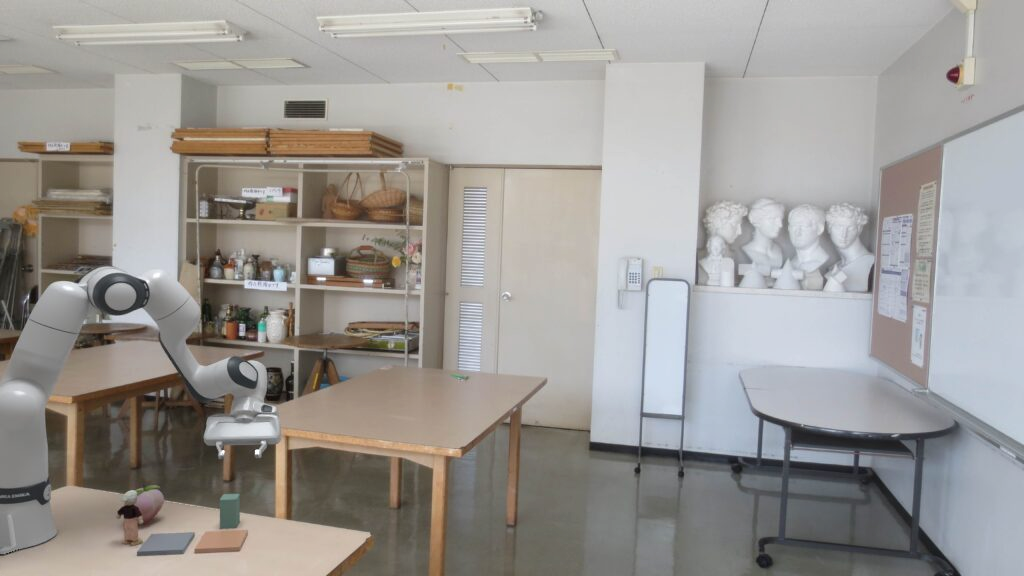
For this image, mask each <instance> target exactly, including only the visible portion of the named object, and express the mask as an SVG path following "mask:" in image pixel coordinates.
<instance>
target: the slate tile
mask: <svg viewBox="0 0 1024 576" xmlns="http://www.w3.org/2000/svg"><path fill="white" fill-rule="evenodd" d="M195 533H196V532H195V531H190V532H187V531H184V532H167V533H166V532H164V533H160V532H159V533H151V534H150V535H149V536H148V537H147V538H146V539H145V541H143V543H142V545H141V546H140V547H139V548H138V550H137V551H136V556H137V557H139V556H140V557H141V556H142V557H145V556H159V555H160V556H162V555H164V556H165V555H182V554H183V555H184V553H185V552H186V550H187V549H188V547H189V545H190V544H191V543H192V541H193V539H194V537H195V536H196V534H195Z"/></svg>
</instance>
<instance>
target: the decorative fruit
mask: <svg viewBox="0 0 1024 576" xmlns="http://www.w3.org/2000/svg"><path fill="white" fill-rule="evenodd" d="M142 486H143V487H141V488H137V489H135V490H134V491H136V492H137V501H136V503H135V504H134V505H135V506H137V507H138V508H139V510H140V512H141V514H142V518H143V519H142V520H143V524H144V523H147V522H149V521H151V520H152V519H153V518H155V517H156V516H157V515H158V514H159V512H160V511H161V509H162V508H163V505H164V503H165V496H164V495H163V493H162V492H161V491H160V490H159V489H161V487H160V486H159V485H156V484H151V485H147V486H146V485H145V484H143V485H142ZM123 503H124V504H123V506H125V505H127V504H126V503H125V502H123ZM137 521H138V519H137ZM138 523H139V521H138Z"/></svg>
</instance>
